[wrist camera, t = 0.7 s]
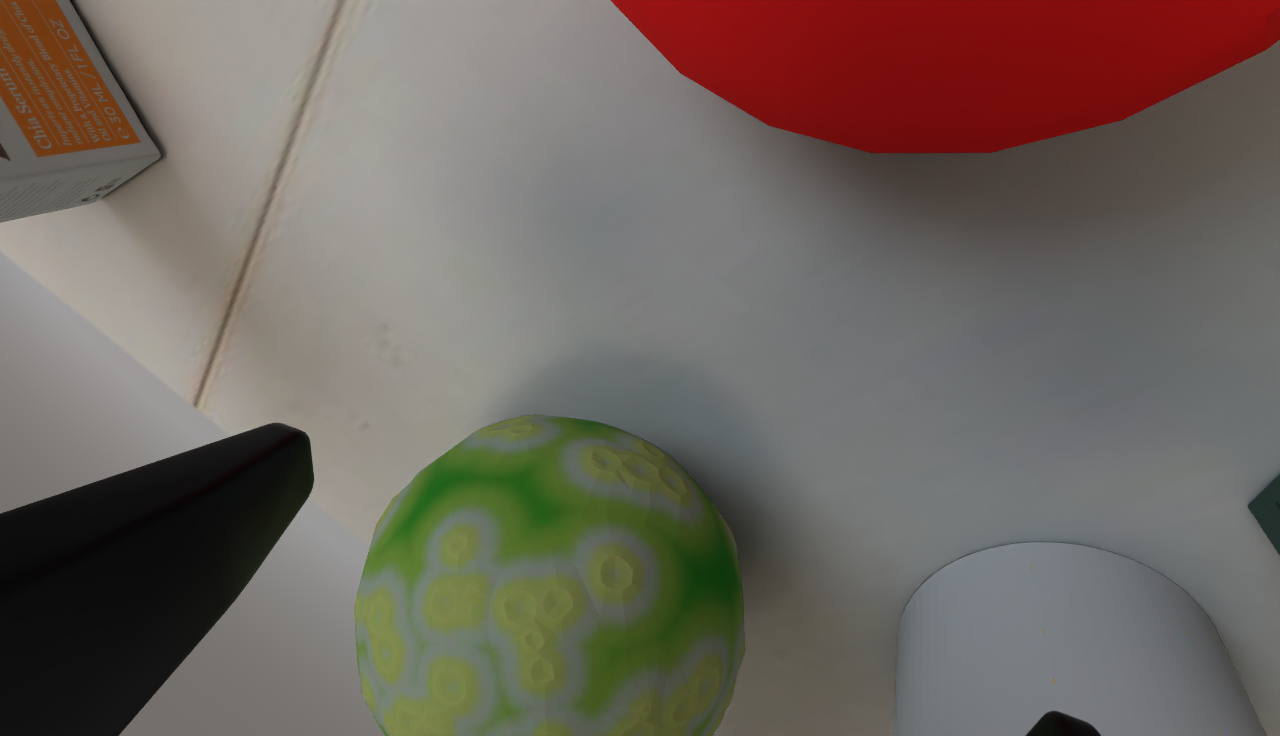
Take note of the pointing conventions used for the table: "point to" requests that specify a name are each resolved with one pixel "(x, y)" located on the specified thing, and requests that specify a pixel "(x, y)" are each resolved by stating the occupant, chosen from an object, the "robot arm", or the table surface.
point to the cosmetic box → (60, 114)
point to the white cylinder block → (1062, 649)
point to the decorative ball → (550, 591)
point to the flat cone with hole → (950, 62)
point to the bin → (1269, 511)
